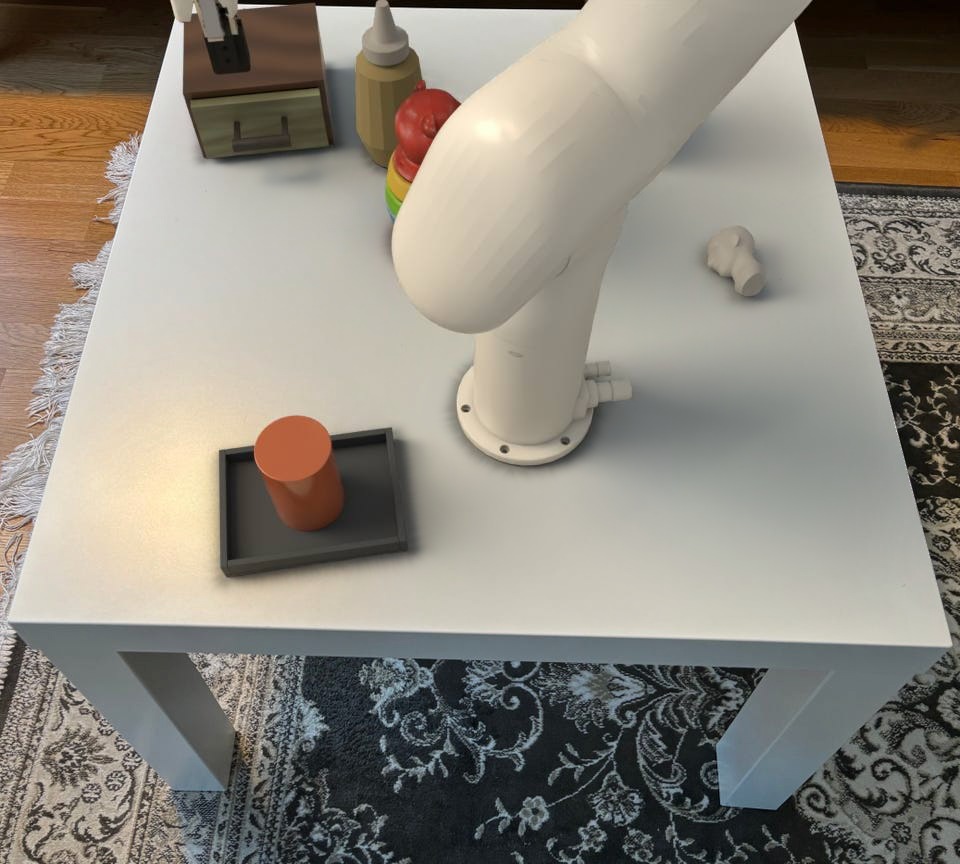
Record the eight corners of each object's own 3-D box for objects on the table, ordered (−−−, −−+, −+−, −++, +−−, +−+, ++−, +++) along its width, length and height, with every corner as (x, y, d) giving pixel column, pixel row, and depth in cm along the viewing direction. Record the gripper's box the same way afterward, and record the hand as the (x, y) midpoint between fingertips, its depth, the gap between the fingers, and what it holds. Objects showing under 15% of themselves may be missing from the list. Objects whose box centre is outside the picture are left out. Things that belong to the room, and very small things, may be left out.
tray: (393, 438, 81) (391, 426, 79) (408, 550, 75) (406, 541, 73) (223, 460, 79) (218, 449, 78) (225, 577, 74) (220, 567, 72)
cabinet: (334, 144, 101) (323, 79, 93) (203, 158, 99) (182, 93, 92) (325, 68, 108) (315, 2, 100) (203, 80, 106) (183, 13, 99)
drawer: (331, 172, 97) (322, 121, 91) (207, 185, 96) (190, 134, 90) (320, 74, 106) (312, 22, 100) (206, 85, 104) (191, 33, 99)
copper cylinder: (342, 465, 79) (329, 410, 71) (347, 526, 75) (333, 476, 68) (274, 473, 78) (253, 419, 70) (276, 535, 75) (254, 486, 67)
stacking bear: (491, 276, 91) (495, 136, 76) (392, 282, 90) (376, 142, 75) (482, 200, 96) (484, 56, 81) (388, 205, 96) (373, 61, 81)
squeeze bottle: (444, 158, 100) (440, 10, 84) (383, 187, 97) (367, 39, 82) (406, 118, 103) (396, -31, 88) (346, 145, 101) (324, -4, 85)
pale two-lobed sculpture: (700, 253, 94) (748, 239, 93) (720, 311, 90) (771, 296, 89) (696, 226, 91) (747, 210, 90) (717, 284, 86) (770, 269, 85)
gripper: (123, -208, 66) (189, 19, 81) (113, -99, 58) (188, 128, 74) (226, -214, 66) (272, 12, 82) (229, -107, 59) (279, 119, 74)
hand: (232, 67), depth 78 cm, fingers closed
